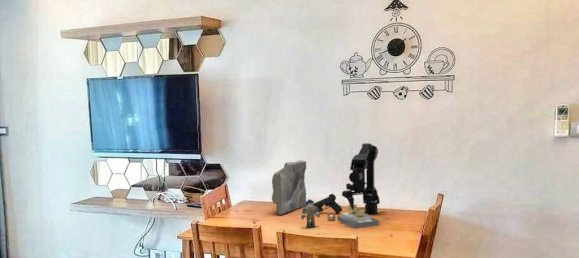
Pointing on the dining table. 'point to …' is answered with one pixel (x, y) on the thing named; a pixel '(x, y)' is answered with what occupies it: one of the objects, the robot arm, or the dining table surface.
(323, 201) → the handgun
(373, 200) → the robot arm
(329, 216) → the brown short cylinder
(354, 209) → the brass short cylinder
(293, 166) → the fossil
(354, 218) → the scale
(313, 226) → the toy
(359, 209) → the gold cylinder
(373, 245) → the dining table surface
